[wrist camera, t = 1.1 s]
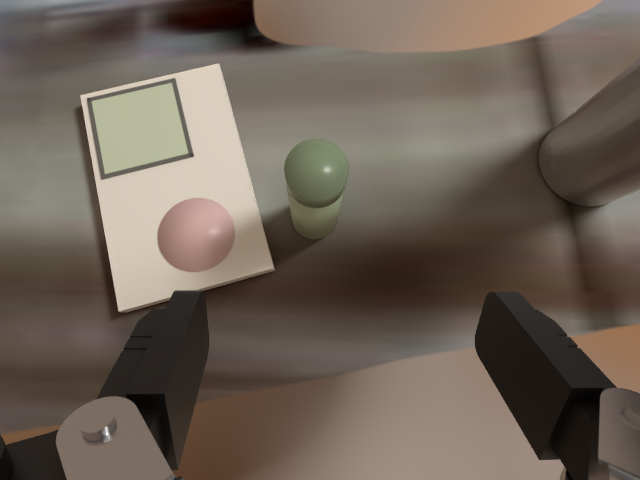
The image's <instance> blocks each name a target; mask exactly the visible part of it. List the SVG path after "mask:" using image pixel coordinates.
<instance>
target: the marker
mask: <svg viewBox="0 0 640 480" xmlns="http://www.w3.org/2000/svg"><path fill="white" fill-rule="evenodd" d="M284 170H285V178H286V185H287V191H288V198H289V205H290V211H291V218H292V223H293V226H294V228H295V230H296V231H297V232H298V233H299V234H300V235H301V236H303V237H305V238H307V239H312V240H317V239H322V238H324V237H326V236H328V235H329V234H330V233H331V232H332V231H333V229H334V228H335V225H336V222H337V218H338V214H339V210H340V206H341V202H342V198H343V194H344V190H345V186H346V182H347V178H348V173H349V166H348V161H347V158H346V156H345V154H344V153H343V151H342V150H341V149H340V148H339V147H338V146H336V145H335V144H333V143H331V142H329V141H326V140H322V139H310V140H306V141H303V142H301V143H299V144H298V145H296V146H295V147H294V148H293V149H292V150H291V151H290V153H289V154H288V156H287V158H286V161H285V167H284Z"/></svg>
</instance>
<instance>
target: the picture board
mask: <svg viewBox="0 0 640 480" xmlns="http://www.w3.org/2000/svg"><path fill="white" fill-rule="evenodd" d="M80 96H81V102H82V108H83V113H84V119H85V124H86V130H87V136H88V141H89V147H90V153H91V158H92V164H93V170H94V175H95V181H96V187H97V192H98V198H99V204H100V209H101V215H102V221H103V226H104V232H105V237H106V243H107V249H108V254H109V260H110V266H111V271H112V277H113V283H114V288H115V294H116V300H117V305H118V311H119V312H130V311H133V310H137V309H141V308H144V307H148V306H151V305H155V304H158V303H162V302H165V301H169V300H170V298H171V296H172V294H173V292H174V291H175V290H203V291H205V290H208V289H212V288H215V287H219V286H222V285H226V284H230V283H233V282H237V281H240V280H244V279H247V278H251V277H254V276H258V275H262V274H265V273H269V272H272V271H275V269H274V265H273V261H272V257H271V254H270V250H269V246H268V242H267V239H266V235H265V231H264V227H263V224H262V220H261V216H260V212H259V209H258V205H257V201H256V197H255V194H254V190H253V186H252V183H251V179H250V175H249V171H248V168H247V164H246V160H245V156H244V153H243V149H242V145H241V141H240V138H239V134H238V130H237V126H236V123H235V119H234V115H233V111H232V108H231V104H230V100H229V96H228V93H227V89H226V85H225V82H224V78H223V74H222V71H221V68H220V65H219V64H214V65H210V66H206V67H201V68H197V69H193V70H188V71H184V72H180V73H175V74H171V75H167V76H162V77H158V78H154V79H149V80H145V81H141V82H136V83H132V84H128V85H123V86H119V87H115V88H110V89H106V90H102V91H97V92H93V93H89V94H84V95H80Z"/></svg>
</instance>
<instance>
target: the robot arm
mask: <svg viewBox="0 0 640 480" xmlns="http://www.w3.org/2000/svg"><path fill="white" fill-rule="evenodd" d="M538 158H539V167H540V170H541V173H542V176H543V177H544V179H545V181H546V183H547V184H548V185H549V187H550V188H551V189H552V190H553V191H554V192H555V193H556V194H557V195H559V196H560V197H561V198H563V199H565V200H567V201H568V202H570V203H573V204H576V205H579V206H587V207H593V206H600V205H604V204H607V203H609V202H612V201H614V200H616V199H619V198H621V197H623V196H626V195H628V194H630V193H632V192H635V191H637V190H640V58H639V59H637V60H636V61H635V62H634V63H633V64H631V65H630V66H629V67H628V68H627V69H625V70H624V71H623V72H622V73H621V74H619V75H618V76H617V77H616V78H615V79H613V80H612V81H611V82H610V83H609V84H607V85H606V86H605V87H604V88H603V89H601V90H600V91H599V92H598V93H597V94H595V95H594V96H593V97H592V98H591V99H589V100H588V101H587V102H586V103H585V104H583V105H582V106H581V107H580V108H579V109H577V110H576V111H575V112H574V113H572V114H571V115H570V116H569V117H568V118H566V119H565V120H564V121H563V122H562V123H561V124H559V125H558V126H557V127H556V128H555V129H553V130H552V131H551V132H550V133H549V134H548V135H547V136H546V137H545V139H544V140H543V142H542V144H541V147H540V150H539V157H538ZM475 348H476V351H477V354H478V356H479V358H480V360H481V362H482V363H483V365H484V367H485V369H486V370H487V372H488V374H489V375H490V377H491V379H492V380H493V382H494V384H495V386H496V387H497V389H498V390H499V392H500V394H501V396H502V397H503V399H504V401H505V402H506V404H507V406H508V407H509V409H510V411H511V413H512V414H513V416H514V417H515V419H516V421H517V423H518V425H519V426H520V428H521V430H522V431H523V433H524V435H525V436H526V438H527V440H528V441H529V443H530V445H531V447H532V448H533V450H534V452H535V453H536V455H537V457H538V459H539V460H552V459H553V460H554V459H560V460H561V462H562V463H563V465H564V469H563V471H562V472H561V475H560V480H640V394H639V393H637V392H634V391H631V390H628V389H623V388H617V387H616V386H615V385H614V384H613V383H612V382H611V381H610V380H609V379H608V378H607V377H606V376H605V375H604V373H603V372H602V371H601V370H600V369H599V368H598V367H597V366H596V365H595V364H594V363H593V362H592V361H591V360H590V358H589V357H588V356H587V355H586V354H585V353H584V352H583V351H582V350H581V349H580V348H578V347H577V344H576V343H575V342H574V341H573V340H572V339H571V338H570V337H567V334H566V333H565V332H564V331H563V329H562V328H561V327H560V326H559V325H558V324H557V323H556V322H555V321H554V320H552V319H551V318H549V317H548V316H546V315H545V314H543V313H542V312H540V311H538V310H534V308H533V307H532V306H531V305H530V304H529V303H528V302H527V301H526V300H525V298H524V297H523V296H522V295H521V294H520V293H518V292H490V293H489V294H488V295H487V296H486V298H485V302H484V305H483V309H482V312H481V316H480V319H479V323H478V327H477V330H476V334H475ZM208 349H209V331H208V321H207V311H206V301H205V294H204V291H203V290H175V291H174V292H173V294H172V296H171V298H170V300H169V302H168V304H167V307H166V309H152V310H151V311H150V312H149V313H148V314H147V315H145V316H144V317H143V318H142V319H141V320H139V321H138V323H137V325H136V327H135V328H134V330H133V332H132V334H131V336H130V339H129V340H128V341H127V343H126V345H125V347H124V351H122V353H121V354H120V356H119V358H118V360H117V362H116V364H115V366H114V367H113V369H112V371H111V373H110V375H109V377H108V379H107V380H106V382H105V384H104V386H103V388H102V390H101V392H100V393H99V395H98V397H97V399H96V400H94V401H91V402H89V403H87V404H85V405H83V406H81V407H80V408H78V409H77V410H75V411H74V412H73V413H72V414H71V415H70V416H69V417H68V418H67V419H66V420H65V421H64V422H63V424H62V425H61V427H60V429H58V430H56V431H53V432H51V433H47V434H44V435H40V436H36V437H33V438H29V439H26V440H22V441H19V442H15V443H11V444H8V445H5V443H4V440H3V438H2V437H1V435H0V480H184V479H183V478H182V477H178V478H176V477H175V476H174V474H173V472H172V471H171V470H178V468H179V464H180V460H181V456H182V452H183V448H184V445H185V440H186V437H187V433H188V429H189V426H190V422H191V418H192V414H193V410H194V406H195V403H196V399H197V395H198V391H199V387H200V384H201V380H202V376H203V372H204V368H205V364H206V361H207V356H208Z"/></svg>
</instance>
